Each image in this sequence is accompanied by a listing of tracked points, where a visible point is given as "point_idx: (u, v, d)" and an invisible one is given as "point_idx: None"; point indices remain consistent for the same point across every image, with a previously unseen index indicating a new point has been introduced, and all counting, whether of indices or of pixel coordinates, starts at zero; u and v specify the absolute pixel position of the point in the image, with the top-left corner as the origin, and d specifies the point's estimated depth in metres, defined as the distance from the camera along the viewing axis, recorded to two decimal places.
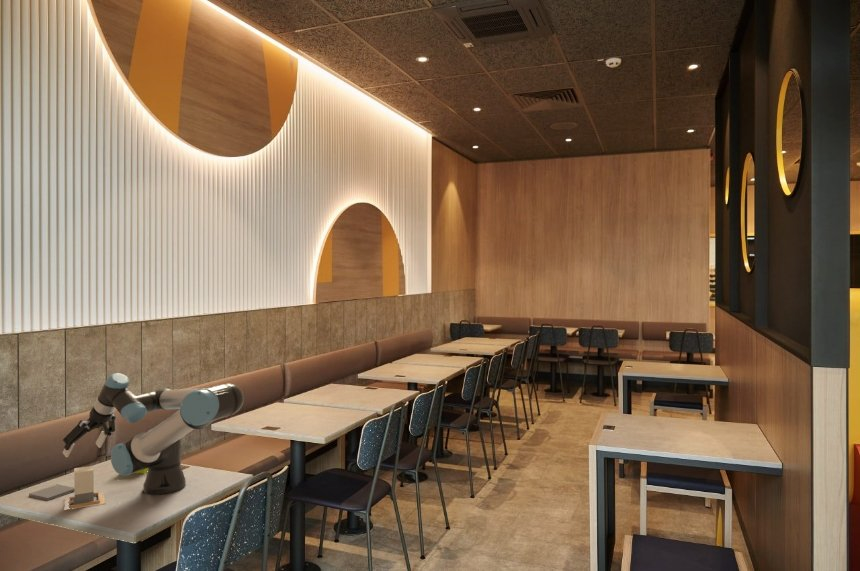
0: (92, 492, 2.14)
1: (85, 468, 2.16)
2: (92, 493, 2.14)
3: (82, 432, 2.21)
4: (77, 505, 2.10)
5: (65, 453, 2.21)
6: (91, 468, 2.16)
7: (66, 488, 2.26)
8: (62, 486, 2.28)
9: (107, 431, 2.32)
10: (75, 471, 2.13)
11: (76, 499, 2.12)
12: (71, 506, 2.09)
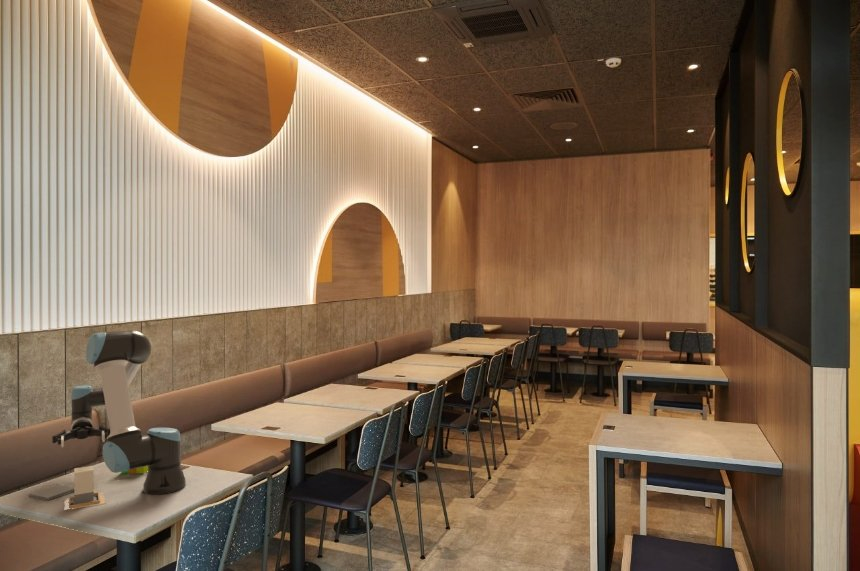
0: (92, 492, 2.14)
1: (85, 468, 2.16)
2: (92, 493, 2.14)
3: None
4: (77, 505, 2.10)
5: (61, 442, 2.21)
6: (91, 468, 2.16)
7: (66, 488, 2.26)
8: (62, 486, 2.28)
9: (101, 430, 2.34)
10: (75, 471, 2.13)
11: (76, 499, 2.12)
12: (71, 506, 2.09)
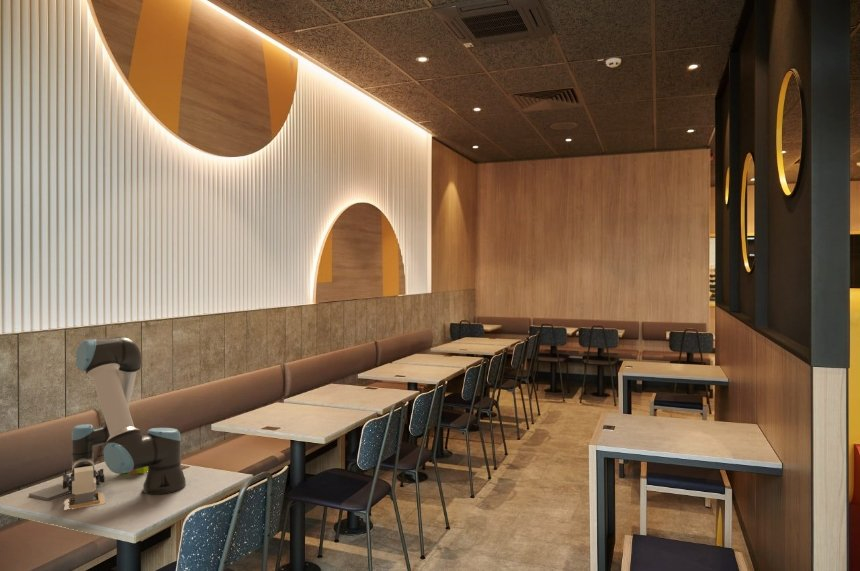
0: (92, 492, 2.14)
1: (85, 468, 2.16)
2: (92, 493, 2.14)
3: None
4: (77, 505, 2.10)
5: (72, 488, 2.10)
6: (91, 468, 2.16)
7: (66, 488, 2.26)
8: (62, 486, 2.28)
9: (94, 475, 2.21)
10: (75, 471, 2.13)
11: (76, 499, 2.12)
12: (71, 506, 2.09)
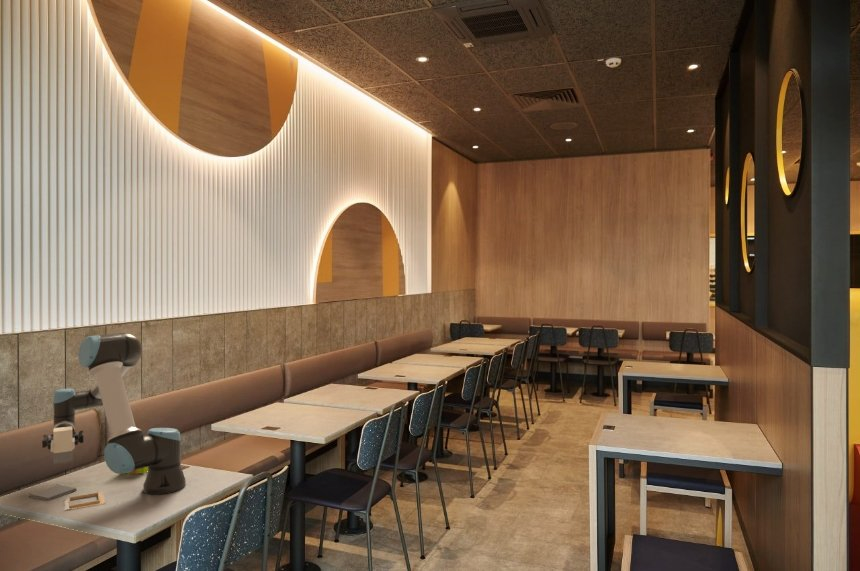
0: (71, 451, 2.20)
1: (64, 428, 2.22)
2: (71, 452, 2.20)
3: None
4: (77, 505, 2.10)
5: (50, 446, 2.16)
6: (70, 428, 2.22)
7: (66, 488, 2.26)
8: (62, 486, 2.28)
9: (74, 436, 2.26)
10: (54, 430, 2.19)
11: (55, 457, 2.17)
12: (71, 506, 2.09)
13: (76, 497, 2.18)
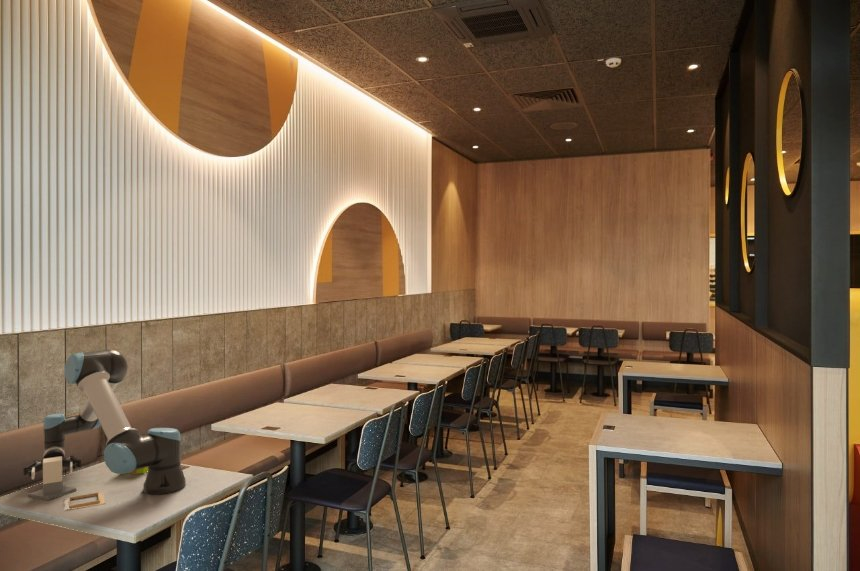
0: (60, 481, 2.23)
1: (54, 458, 2.25)
2: (60, 483, 2.23)
3: None
4: (77, 505, 2.10)
5: (31, 474, 2.18)
6: (60, 458, 2.25)
7: (66, 488, 2.26)
8: (62, 486, 2.28)
9: (70, 460, 2.31)
10: (44, 461, 2.22)
11: (44, 488, 2.20)
12: (71, 506, 2.09)
13: (76, 497, 2.18)
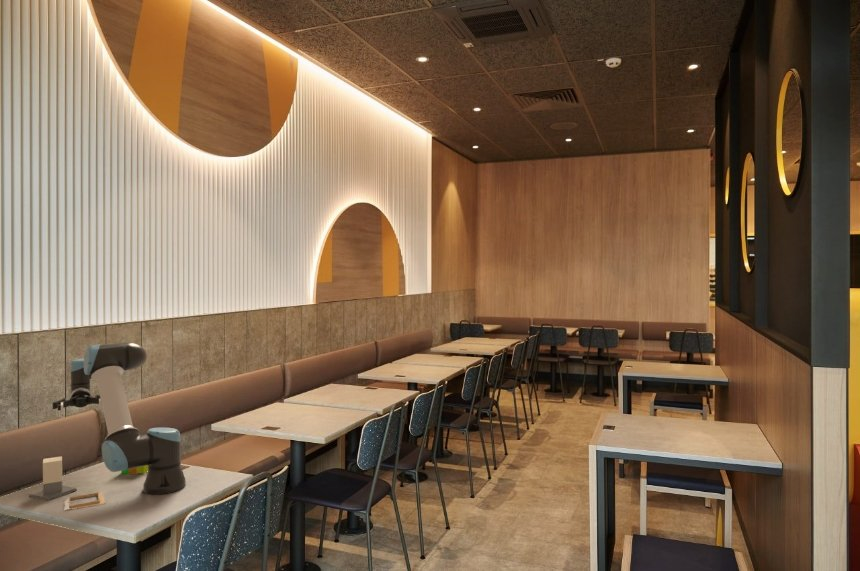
0: (60, 481, 2.23)
1: (54, 458, 2.25)
2: (60, 483, 2.23)
3: None
4: (77, 505, 2.10)
5: (60, 407, 2.37)
6: (60, 458, 2.25)
7: (66, 488, 2.26)
8: (62, 486, 2.28)
9: (98, 398, 2.50)
10: (44, 461, 2.22)
11: (44, 488, 2.20)
12: (71, 506, 2.09)
13: (76, 497, 2.18)
